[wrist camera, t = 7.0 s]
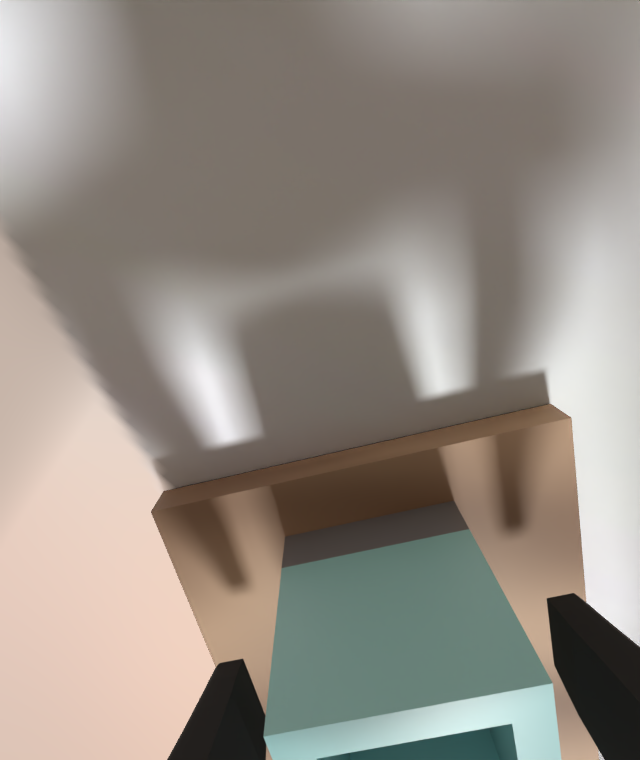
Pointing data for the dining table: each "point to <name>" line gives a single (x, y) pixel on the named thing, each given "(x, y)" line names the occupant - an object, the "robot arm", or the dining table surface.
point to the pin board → (378, 498)
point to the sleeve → (402, 649)
